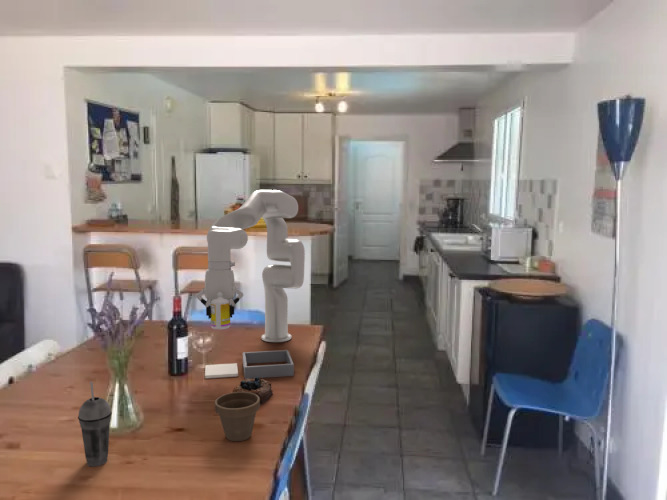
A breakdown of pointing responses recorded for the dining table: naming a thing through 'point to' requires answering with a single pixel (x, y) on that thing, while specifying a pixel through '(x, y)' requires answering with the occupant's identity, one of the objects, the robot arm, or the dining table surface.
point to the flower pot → (237, 414)
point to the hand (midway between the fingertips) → (220, 316)
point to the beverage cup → (95, 429)
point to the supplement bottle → (220, 312)
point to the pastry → (256, 388)
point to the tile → (221, 370)
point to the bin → (267, 369)
